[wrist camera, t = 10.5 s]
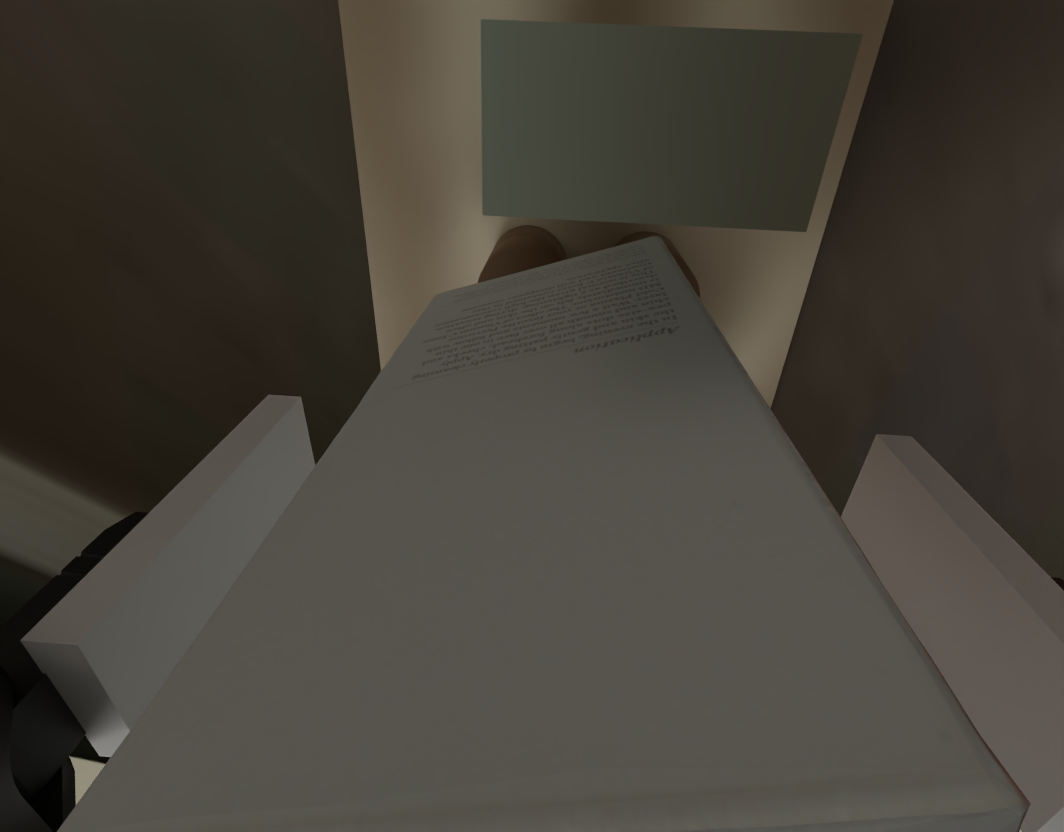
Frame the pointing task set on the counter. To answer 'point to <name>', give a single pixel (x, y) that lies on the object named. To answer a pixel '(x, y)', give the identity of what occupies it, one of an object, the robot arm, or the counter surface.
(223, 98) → the counter surface
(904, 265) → the counter surface
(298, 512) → the small box
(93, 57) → the counter surface
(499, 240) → the peg stand
